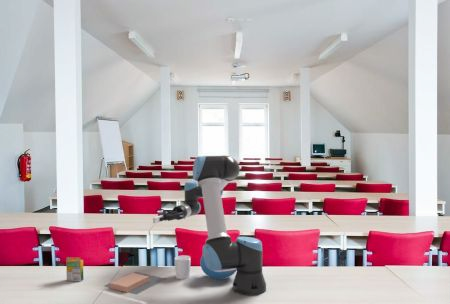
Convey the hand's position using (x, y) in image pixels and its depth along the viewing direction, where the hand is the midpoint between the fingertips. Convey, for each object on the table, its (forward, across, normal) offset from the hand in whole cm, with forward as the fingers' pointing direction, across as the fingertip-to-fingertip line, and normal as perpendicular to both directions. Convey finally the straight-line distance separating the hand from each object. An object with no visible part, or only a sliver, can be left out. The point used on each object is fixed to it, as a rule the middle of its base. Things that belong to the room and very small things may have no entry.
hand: (154, 220), depth 198 cm
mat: (+14, 0, -28) cm, 31 cm away
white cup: (-3, -15, -28) cm, 32 cm away
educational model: (-11, -31, -28) cm, 43 cm away
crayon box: (+24, +29, -28) cm, 47 cm away
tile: (+10, 0, -26) cm, 28 cm away
